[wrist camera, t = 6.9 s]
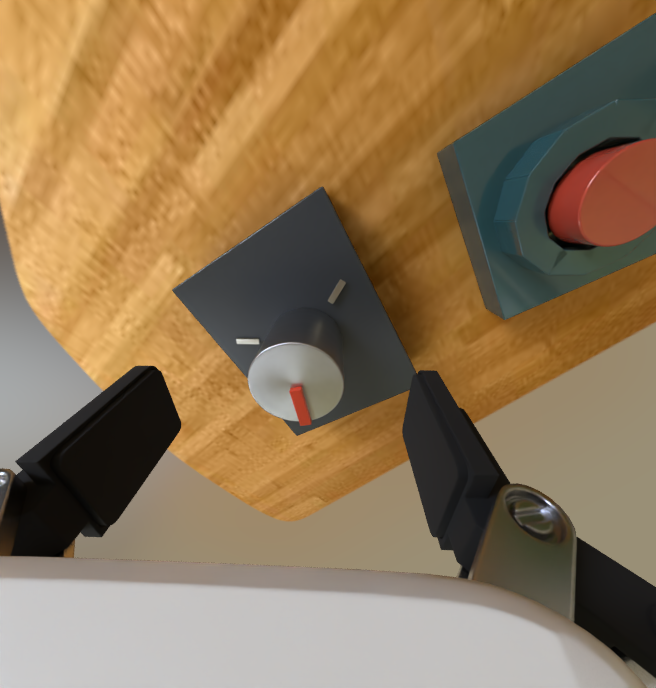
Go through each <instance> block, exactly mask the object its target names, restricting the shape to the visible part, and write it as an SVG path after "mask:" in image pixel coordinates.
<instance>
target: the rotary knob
mask: <svg viewBox="0 0 656 688" xmlns="http://www.w3.org/2000/svg"><path fill="white" fill-rule="evenodd" d="M248 384H249V389H250V392H251V394H252V396H253V398H254V399H255V401H256V402H257V403H258V404H259V405H260V406H261V407H262V408H263V409H264V410H266V411H267V412H269V413H270V414H272V415H274V416H276V417H278V418H281V419H285V420H289V421H299V423H300V426H305V425H311V423H312V420H314V419H318V418H320V417H323V416H324V415H326V414H328V413H329V412H330V411H332V410H333V409H334V408H335V407H336V405H337V404H338V403H339V401H340V399H341V397H342V395H343V391H344V366H343V343H342V335H341V331H340V329H339V327H338V325H337V324H336V323H335V321H334V320H333V319H332V318H331V317H329V316H328V315H327V314H325V313H323V312H321V311H319V310H316V309H312V308H297V309H293V310H290V311H288V312H286V313H284V314H283V315H282V316H280V317H279V318H278V319H277V321H276V322H275V323H274V325H273V327H272V329H271V330H270V332H269V334H268V336H267V337H266V339H265V341H264V342H263V344H262V346H261V348H260V349H259V351H258V353H257V355H256V356H255V358H254V360H253V362H252V363H251V365H250V368H249V372H248Z"/></svg>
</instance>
